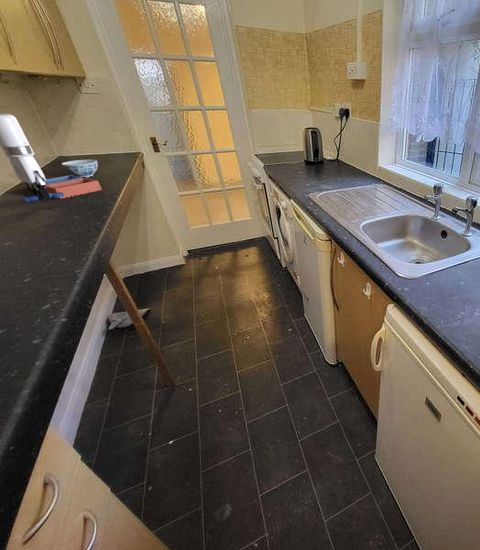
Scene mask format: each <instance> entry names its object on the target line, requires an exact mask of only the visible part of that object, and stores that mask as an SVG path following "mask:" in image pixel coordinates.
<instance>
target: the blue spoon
mask: <svg viewBox="0 0 480 550" xmlns="http://www.w3.org/2000/svg"><path fill="white" fill-rule="evenodd" d="M49 195H50V197H51V199H59V197H63V196H64V194H63V193H61V192H58V193H52V194H50V193H49ZM22 200H23V202H24V203H33V202H39V201H41V200H40V198H39V197H38V195H36V196H35V195H30V196H25V197H23V199H22Z"/></svg>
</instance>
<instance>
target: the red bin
mask: <svg viewBox="0 0 480 550" xmlns="http://www.w3.org/2000/svg"><path fill="white" fill-rule="evenodd" d="M45 187H46V190H47V191H48V193H50V194H52V193H58V192H61V193H63V194H64V196H63V197H59V198H60V200H62V198H63V199H66V197H67V198H71V196H72V197H75V195H76V196H80V194H81V195H85V194H89V193H94V192H98V191H102V190H103V189H102V187H101V185H100V183H99V180H97V179H91V178H88V177H86V178H83V179H78V180H72V181H67V182H61V183H55V184H50V185H45ZM59 198H58V199H59Z"/></svg>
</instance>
